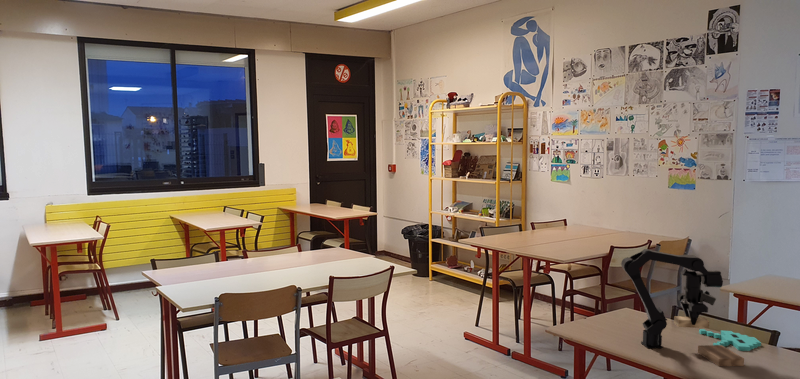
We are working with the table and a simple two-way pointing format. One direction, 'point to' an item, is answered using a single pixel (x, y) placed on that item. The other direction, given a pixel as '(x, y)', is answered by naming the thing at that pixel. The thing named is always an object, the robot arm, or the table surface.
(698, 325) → the oak plank
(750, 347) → the alien figure
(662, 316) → the robot arm
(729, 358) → the floor section
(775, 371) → the table surface
